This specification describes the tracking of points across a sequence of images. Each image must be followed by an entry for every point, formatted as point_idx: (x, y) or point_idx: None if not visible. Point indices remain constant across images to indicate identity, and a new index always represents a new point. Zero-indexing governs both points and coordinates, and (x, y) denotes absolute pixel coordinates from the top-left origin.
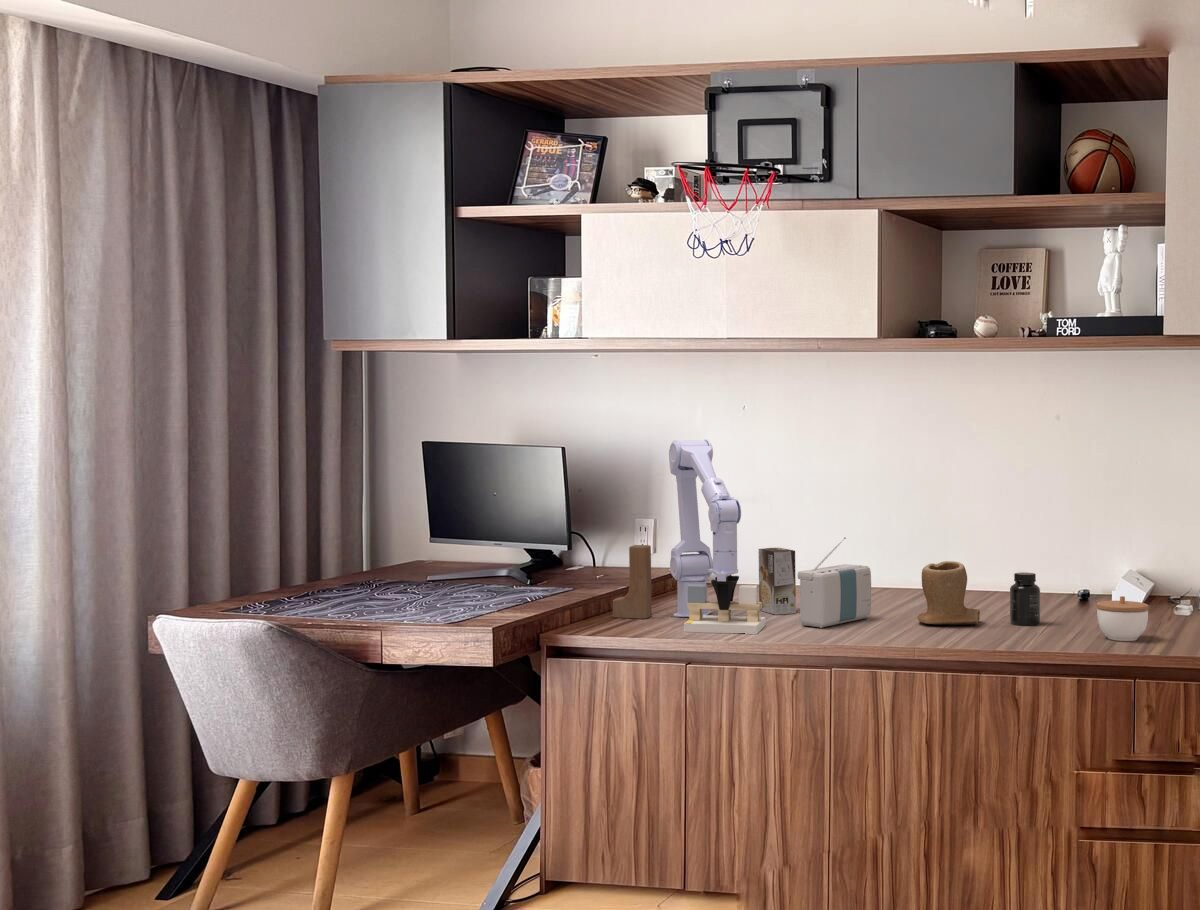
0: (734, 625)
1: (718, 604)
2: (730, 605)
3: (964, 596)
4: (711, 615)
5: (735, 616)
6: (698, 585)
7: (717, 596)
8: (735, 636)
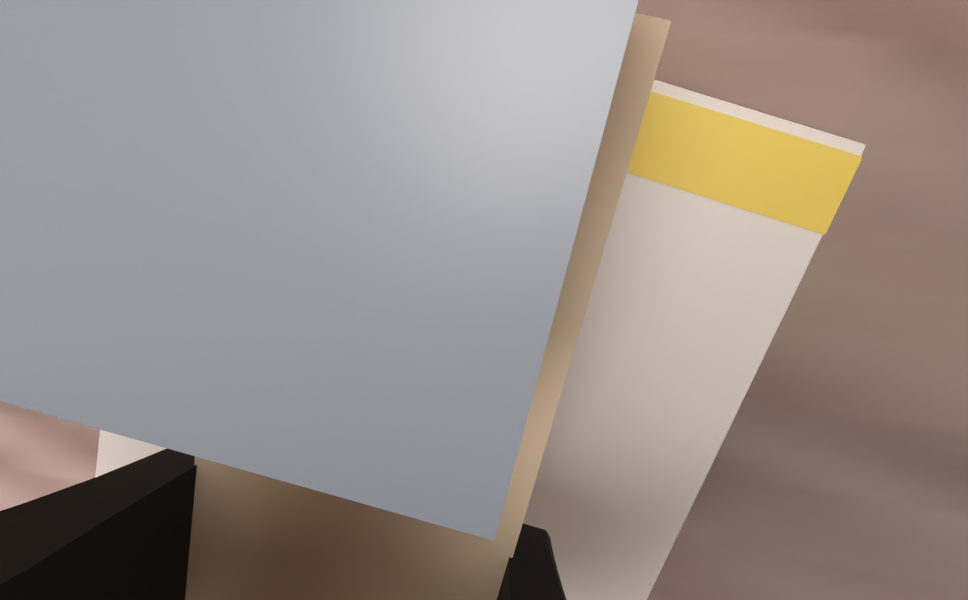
0: (100, 467)
1: (148, 457)
2: (188, 595)
3: None
4: (762, 348)
5: (631, 582)
6: (192, 235)
7: (11, 517)
8: (25, 413)
